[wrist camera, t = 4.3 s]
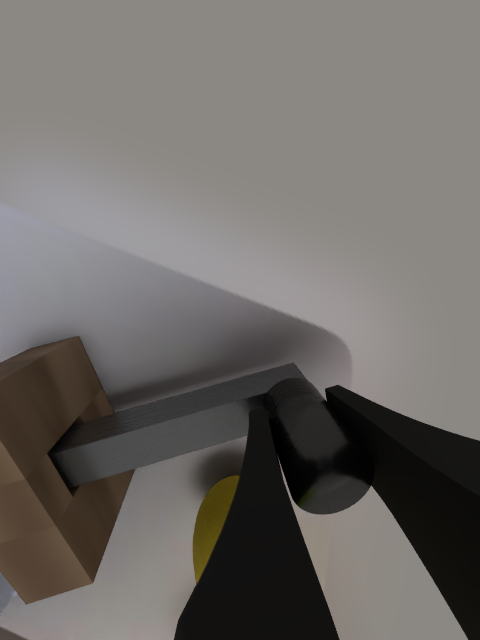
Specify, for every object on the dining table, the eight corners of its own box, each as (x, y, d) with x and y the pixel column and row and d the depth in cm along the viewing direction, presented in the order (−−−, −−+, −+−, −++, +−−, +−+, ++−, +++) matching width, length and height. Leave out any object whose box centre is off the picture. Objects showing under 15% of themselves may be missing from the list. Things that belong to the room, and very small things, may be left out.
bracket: (96, 475, 17) (26, 604, 10) (28, 349, 14) (-121, 421, 8) (137, 462, 17) (92, 583, 11) (78, 336, 14) (-29, 396, 8)
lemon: (224, 438, 17) (234, 583, 9) (281, 467, 18) (330, 616, 11) (182, 490, 18) (161, 664, 10) (240, 515, 19) (260, 687, 12)
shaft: (49, 472, 13) (-83, 646, 7) (25, 431, 12) (-147, 588, 6) (307, 397, 14) (377, 498, 8) (299, 354, 13) (370, 431, 7)
